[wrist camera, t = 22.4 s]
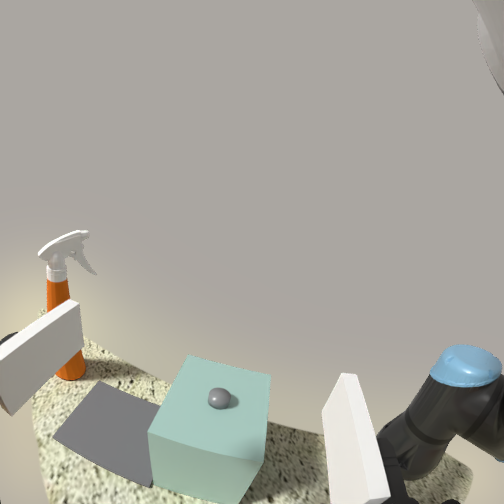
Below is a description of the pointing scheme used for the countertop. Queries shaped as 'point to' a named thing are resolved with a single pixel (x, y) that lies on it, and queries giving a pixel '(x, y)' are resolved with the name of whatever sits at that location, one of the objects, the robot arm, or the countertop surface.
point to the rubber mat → (112, 432)
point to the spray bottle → (64, 286)
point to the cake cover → (210, 431)
